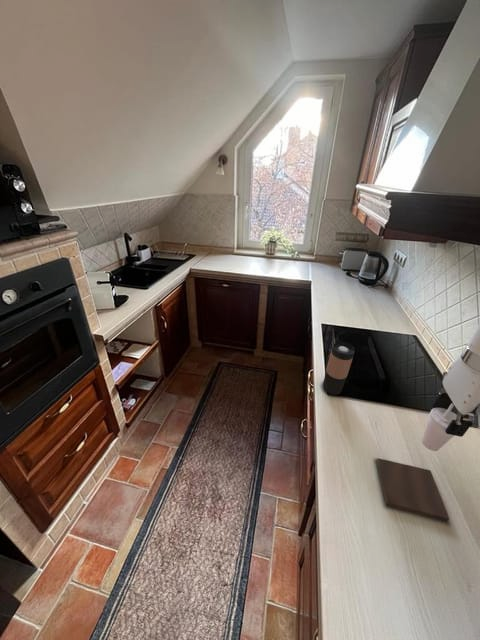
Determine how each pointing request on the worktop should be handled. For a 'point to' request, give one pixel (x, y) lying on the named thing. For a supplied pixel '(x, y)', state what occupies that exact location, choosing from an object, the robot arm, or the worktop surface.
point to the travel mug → (338, 367)
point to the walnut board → (410, 489)
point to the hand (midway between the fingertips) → (446, 420)
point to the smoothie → (438, 428)
